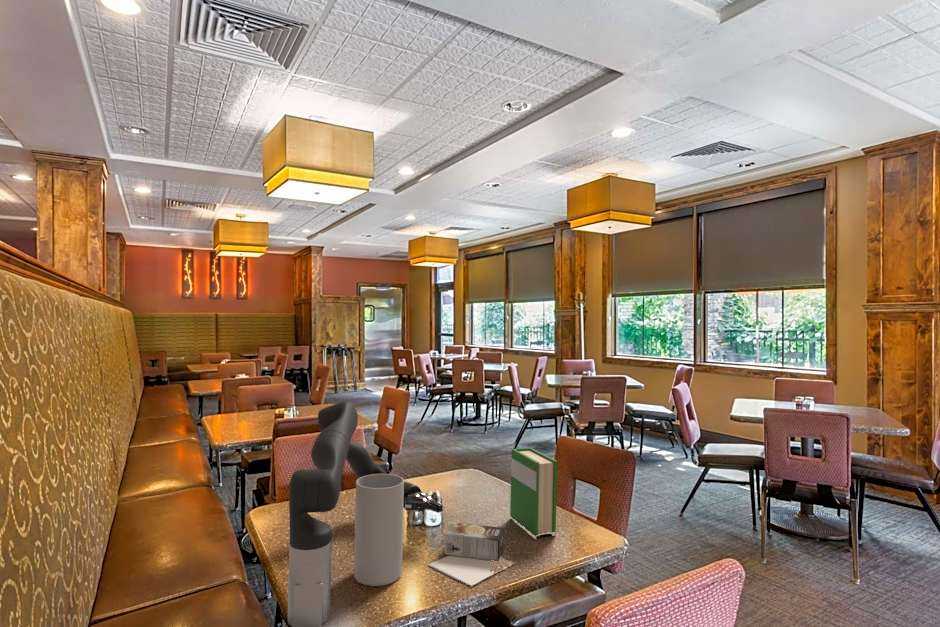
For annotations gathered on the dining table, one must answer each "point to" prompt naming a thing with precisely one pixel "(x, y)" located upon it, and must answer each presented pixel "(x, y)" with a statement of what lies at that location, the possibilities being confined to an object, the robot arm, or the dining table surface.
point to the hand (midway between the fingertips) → (440, 508)
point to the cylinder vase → (378, 529)
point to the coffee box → (474, 541)
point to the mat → (464, 568)
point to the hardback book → (533, 490)
